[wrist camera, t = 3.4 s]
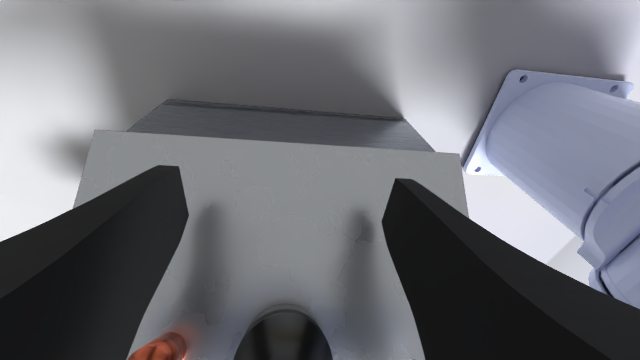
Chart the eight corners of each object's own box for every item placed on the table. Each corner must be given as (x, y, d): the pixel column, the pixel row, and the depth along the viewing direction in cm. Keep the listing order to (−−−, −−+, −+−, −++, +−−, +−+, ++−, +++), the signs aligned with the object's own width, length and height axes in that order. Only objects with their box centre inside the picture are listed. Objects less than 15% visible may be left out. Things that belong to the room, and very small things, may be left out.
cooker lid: (447, 160, 14) (489, 136, 11) (504, 595, 9) (601, 741, 7) (109, 139, 12) (55, 103, 9) (-30, 681, 7) (-226, 948, 5)
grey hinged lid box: (404, 118, 19) (443, 159, 14) (361, 264, 28) (375, 321, 23) (92, 93, 17) (5, 132, 12) (153, 262, 25) (118, 326, 20)
